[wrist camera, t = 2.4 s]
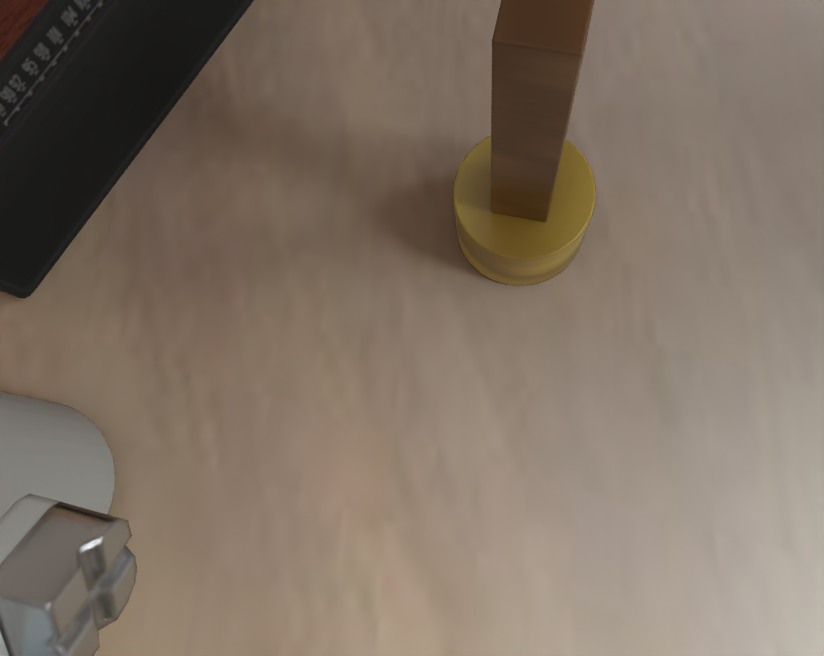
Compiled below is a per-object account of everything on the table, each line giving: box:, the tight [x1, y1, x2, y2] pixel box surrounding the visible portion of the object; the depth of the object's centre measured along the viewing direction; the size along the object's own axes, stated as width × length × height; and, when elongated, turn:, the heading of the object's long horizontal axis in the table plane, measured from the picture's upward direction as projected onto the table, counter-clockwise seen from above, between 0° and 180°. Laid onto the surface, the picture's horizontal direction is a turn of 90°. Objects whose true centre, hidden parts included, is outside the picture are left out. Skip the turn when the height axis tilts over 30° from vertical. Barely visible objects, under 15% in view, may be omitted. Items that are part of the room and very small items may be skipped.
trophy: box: [453, 0, 596, 286], centre depth 23 cm, size 5×5×14 cm
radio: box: [0, 0, 253, 298], centre depth 26 cm, size 19×3×15 cm, turn 146°
